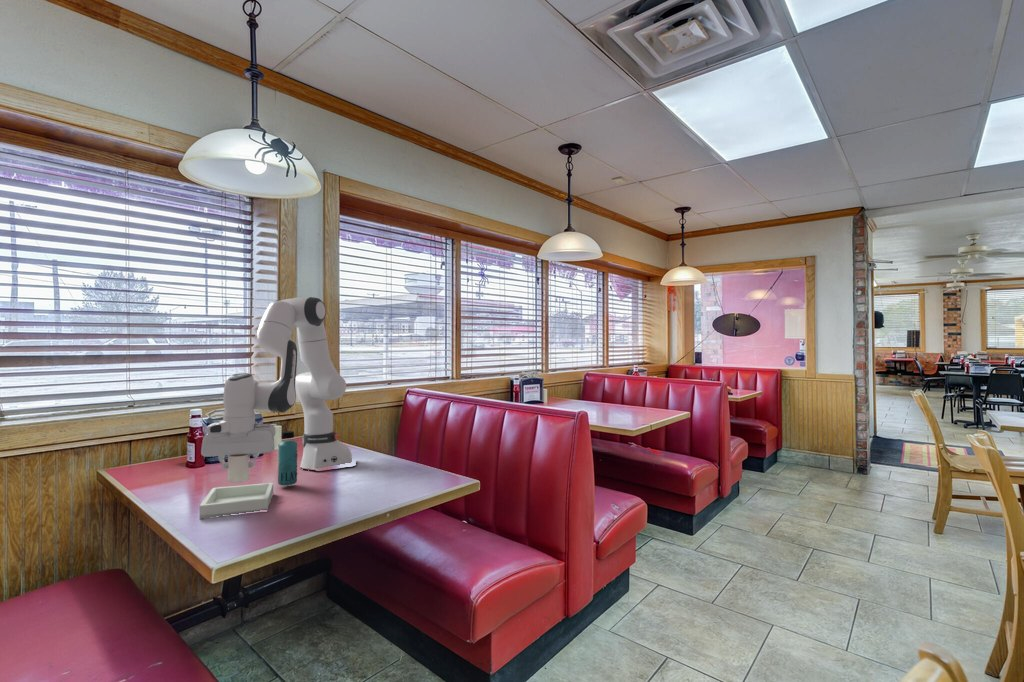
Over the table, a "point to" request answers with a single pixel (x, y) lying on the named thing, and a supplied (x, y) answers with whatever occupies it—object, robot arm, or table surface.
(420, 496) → the table surface
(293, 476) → the beverage bottle
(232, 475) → the cup
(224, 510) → the tray
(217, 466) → the table surface
